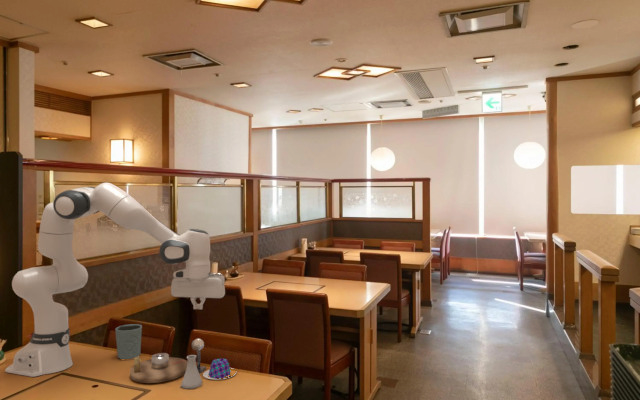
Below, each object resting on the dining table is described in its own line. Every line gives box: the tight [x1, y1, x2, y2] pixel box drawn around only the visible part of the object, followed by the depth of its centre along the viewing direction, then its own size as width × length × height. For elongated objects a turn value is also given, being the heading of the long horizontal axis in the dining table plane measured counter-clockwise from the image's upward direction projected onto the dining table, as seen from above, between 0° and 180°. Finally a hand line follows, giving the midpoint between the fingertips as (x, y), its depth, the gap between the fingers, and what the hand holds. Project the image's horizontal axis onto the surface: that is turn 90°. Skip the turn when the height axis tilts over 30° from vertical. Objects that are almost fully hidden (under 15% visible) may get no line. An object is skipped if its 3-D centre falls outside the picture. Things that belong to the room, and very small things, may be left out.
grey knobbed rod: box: [191, 337, 207, 374], centre depth 167 cm, size 4×4×12 cm
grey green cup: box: [114, 323, 143, 360], centre depth 183 cm, size 10×10×12 cm
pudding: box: [202, 358, 237, 381], centre depth 164 cm, size 12×12×5 cm
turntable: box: [129, 356, 188, 384], centre depth 164 cm, size 20×20×7 cm
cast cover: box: [151, 352, 170, 370], centre depth 164 cm, size 6×6×4 cm
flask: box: [180, 354, 203, 390], centre depth 154 cm, size 7×7×10 cm
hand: (198, 309), depth 167 cm, fingers closed
